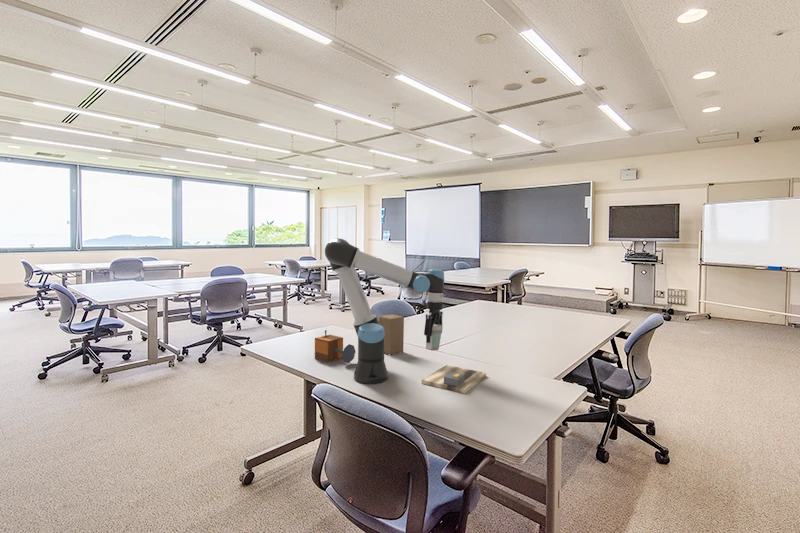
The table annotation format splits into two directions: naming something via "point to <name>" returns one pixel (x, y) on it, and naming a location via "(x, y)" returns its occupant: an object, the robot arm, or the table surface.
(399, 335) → the wooden block
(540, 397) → the table surface
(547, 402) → the table surface
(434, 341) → the coffee cup
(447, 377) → the block
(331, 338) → the wooden box with disc
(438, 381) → the plywood panel
